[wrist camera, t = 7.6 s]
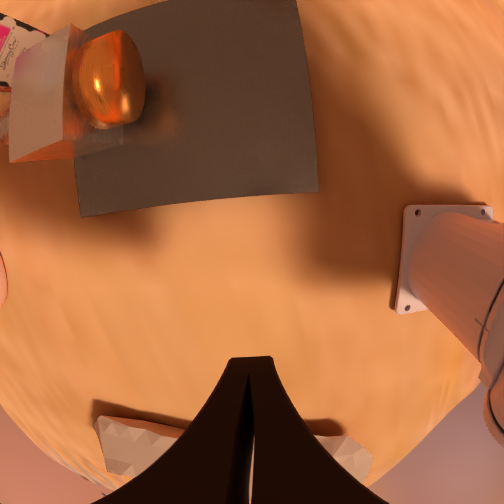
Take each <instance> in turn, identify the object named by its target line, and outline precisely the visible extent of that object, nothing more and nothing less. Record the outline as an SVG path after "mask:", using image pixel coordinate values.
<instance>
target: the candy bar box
mask: <svg viewBox="0 0 504 504" xmlns="http://www.w3.org/2000/svg"><path fill="white" fill-rule="evenodd" d="M48 36H50V35H49V34H46V33H44V32H43V31H40V30H38V29H37V28H34V27H32V26H30V25H28V24H25V23H23V22H21V21H19V20H16V19H14V18H12V17H10V16H7V15H4V14H2V13H0V91H11V89H12V80H13V73H14V67H15V61H16V58H17V57H18V56H19V55H21V54H22V53H24V52H25V51H27V50H28V49H29V48H31V47H32V46H34V45H35V44H37V43H39V42H40V41H42V40H43V39H45V38H47V37H48Z"/></svg>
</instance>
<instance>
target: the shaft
mask: <svg viewBox="0 0 504 504" xmlns="http://www.w3.org/2000/svg"><path fill="white" fill-rule="evenodd" d="M72 83H73V90H74V95H75V99H76V108H75V109H78V110H80V111H81V113H82V114H83V116H84V117H85V119H86V120H87V121H88V122H89V123H90V124H91V125H92V126H94V127H96V128H98V129H103V130H104V129H109V128H112V127H116V126H119V125H123V124H127V123H131V122H134V121H136V120H137V119H138V118H139V116H140V115H141V112H142V110H143V106H144V101H145V75H144V69H143V64H142V60H141V56H140V54H139V51H138V48H137V46H136V44H135V43H134V41H133V39H132V38H131V37H130V36H129V35H128V34H127V33H126V32H124V31H121V30H116V31H113V32H110V33H108V34H105V35H103V36H100V37H98V38H95V39H93V40H91V41H89V42H87V43H85V44H84V45H83V46H82V47H81V48H80V49H79V51H78V53H77V55H76V57H75V60H74V64H73V71H72ZM9 112H10V108H9V109H8V110H6V111H5V112H3V113H2V114H1V116H0V140H1V141H2V142H3V143H4V144H6V145H9Z"/></svg>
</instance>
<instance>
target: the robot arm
mask: <svg viewBox="0 0 504 504" xmlns="http://www.w3.org/2000/svg"><path fill="white" fill-rule="evenodd" d="M417 209H418V214H417V215H415V211H416V210H417ZM481 211H482V213H481ZM407 305H408V307H407V308H405V307H406V306H407ZM394 309H395V312H396V313H397V314H399V315H402V314H407V313H412V312H417V311H422V310H427V309H429V310H430V311H431V312H432V313H433V314H434V315H435V316H436V317H437V318H438V319H439V320H440V321H441V322H442V323H443V324H444V325H445V326H446V327H447V328H448V329H449V330H450V331H451V332H452V333H453V334H454V335H455V336H456V337H457V338H458V339H459V340H460V341H461V342H462V343H463V345H464V346H465V347H466V348H467V349H468V350H469V351H470V352H471V353H472V354H473V355H474V356H475V358H476V359H477V360H478V361H479V362H480V363H481V366H482V367H481V372H480V374H479V379H480V380H481V381H482V382H483V384H484V385H485V386H486V387H487V389H488V390H487V392H486V394H485V398H484V403H483V413H484V419H485V422H486V425H487V427H488V429H489V431H490V433H491V435H492V436H493V437H494V439H495V440H496V441H497V442H498V443H499V444H500V445H501V446H503V447H504V223H501V222H499V221H496V220H493V208H492V207H491V206H488V205H407V206H406V207H405V209H404V212H403V235H402V250H401V261H400V271H399V279H398V287H397V295H396V301H395V308H394ZM253 445H254V461H253V480H252V496H251V504H389V503H388V502H386V501H384V500H383V499H381V498H380V497H378V496H377V495H376V494H374V493H373V492H372V491H370V490H369V489H368V488H366V487H365V486H364V485H363V484H361V483H360V482H359V481H358V480H357V479H356V478H354V477H353V476H352V475H351V474H350V473H349V472H348V471H347V470H346V469H345V468H343V467H342V466H341V465H340V464H339V463H338V462H337V461H336V460H335V459H334V458H333V457H332V456H331V455H330V453H329V452H328V451H327V450H326V449H325V448H324V447H323V446H322V444H321V443H320V442H319V441H318V440H317V438H316V437H315V436H314V435H313V433H312V432H311V431H310V429H309V428H308V427H307V425H306V424H305V422H304V421H303V419H302V418H301V417H300V415H299V414H298V412H297V410H296V409H295V407H294V406H293V404H292V402H291V400H290V398H289V397H288V395H287V393H286V391H285V389H284V387H283V385H282V383H281V381H280V379H279V376H278V374H277V371H276V368H275V365H274V361H273V358H272V357H271V356H259V357H238V358H231V359H230V360H229V361H228V363H227V366H226V368H225V370H224V372H223V374H222V376H221V378H220V380H219V382H218V383H217V385H216V387H215V389H214V390H213V392H212V393H211V395H210V397H209V398H208V400H207V401H206V403H205V404H204V406H203V407H202V409H201V410H200V412H199V413H198V414H197V416H196V417H195V418H194V420H193V421H192V422H191V424H190V425H189V426H188V428H187V429H186V430H185V431H184V432H183V434H182V435H181V436H180V437H179V438H178V439H177V440H176V441H175V442H174V443H173V445H172V446H171V447H170V448H169V449H168V450H167V451H166V452H165V453H163V454H162V455H161V456H160V457H159V458H158V459H157V460H156V461H155V462H154V463H153V464H151V465H150V466H149V467H148V468H147V469H145V470H144V471H143V472H142V473H140V474H139V475H138V476H136V477H135V478H133V479H132V480H131V481H129V482H128V483H126V484H125V485H123V486H122V487H120V488H119V489H117V490H116V491H114V492H112V493H111V494H109V495H107V496H105V497H103V498H101V499H99V500H97V501H95V502H93V503H91V504H249V484H250V472H251V463H252V454H253ZM0 504H1V503H0Z"/></svg>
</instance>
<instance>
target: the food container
mask: <svg viewBox="0 0 504 504" xmlns="http://www.w3.org/2000/svg"><path fill="white" fill-rule="evenodd" d="M94 429H95V431H96V434H97V436H98V438H99V442H100V445H101V449H102V452H103V455H104V459H105V464H106V469H107V472H110V473H114V474H118V475H122V476H129V477H136V476H138V475H139V474H140V473H142V472H143V471H144V470H145V469H147V468H148V467H149V466H150V465H151V464H153V463H154V462H155V461H156V460H157V459H158V458H159V457H160V456H161V455H162V454H163V453H165V452H166V451H167V450H168V449H169V448H170V447H171V446H172V445H173V443H174V442H175V441H176V440H177V439H178V438H179V437H180V436H181V435H182V434H183V432H184V431H185V430H186V429H182V428H178V427H173V426H168V425H163V424H158V423H153V422H148V421H143V420H135V419H126V418H119V417H110V416H103V415H101V416H100V417H98V419H97V421H96V422H95V424H94ZM314 436H315V437H316V438H317V440H318V441H319V442H320V443H321V444H322V446H323V447H324V448H325V449H326V450H327V451H328V452H329V453H330V455H331V456H332V457H333V458H334V459H335V460H336V461H337V462H338V463H339V464H340V465H341V466H342V467H343V468H345V469H346V470H347V471H348V472H349V473H350V474H351V475H352V476H353V477H354V478H356V479H357V480H358V481H359V482H360V483H361V484H362V483H363V482H364V481H365V479H366V478H367V476H368V473H369V470H370V467H371V464H372V461H373V456H372V455H371V454H370V453H369V452H368V450H367V449H366V448H365V447H364V446H362V445H361V444H360V443H358V442H357V441H355V440H354V439H352V438H351V437H350V436H348V435H344V436H330V437H325V436H317V435H314ZM253 461H254V445H253V454H252V463H251V472H250V484H249V500H251V496H252V480H253Z"/></svg>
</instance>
